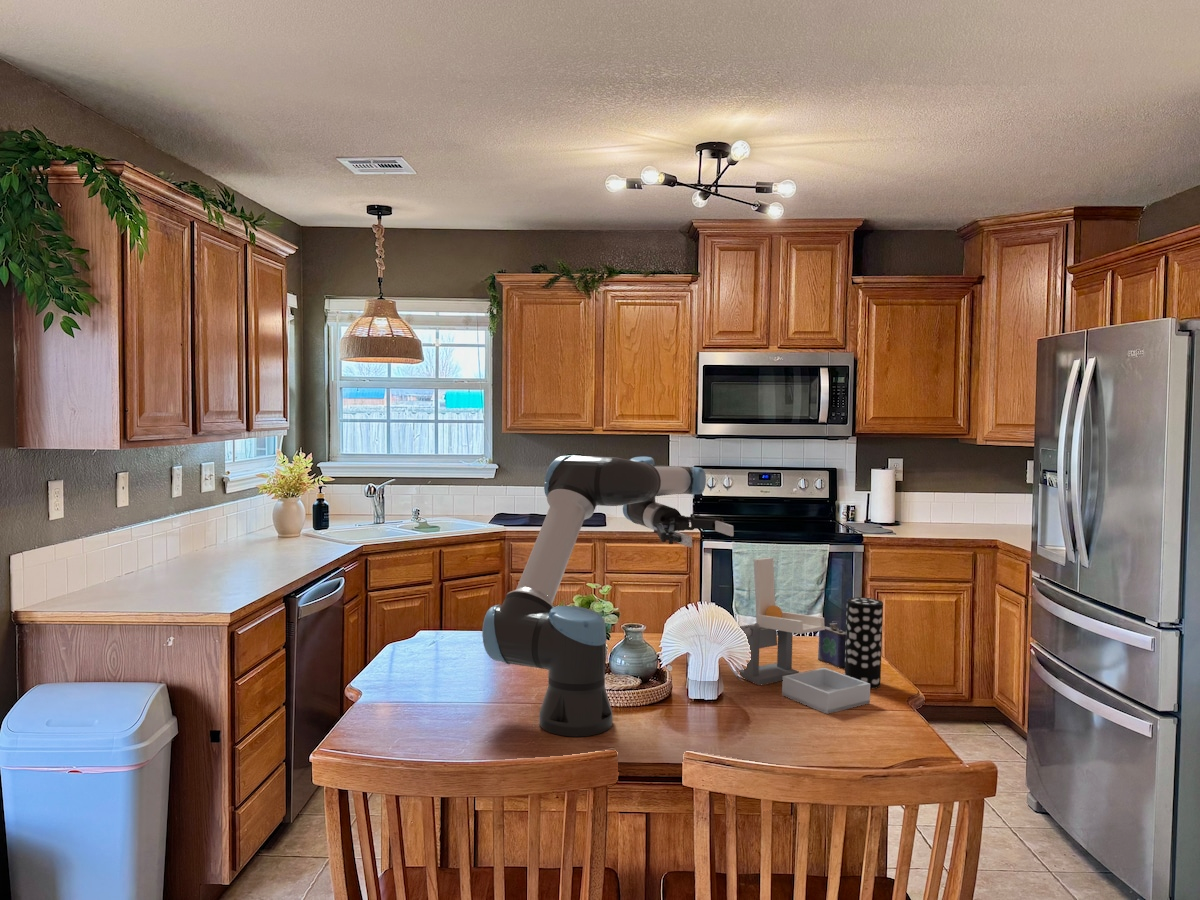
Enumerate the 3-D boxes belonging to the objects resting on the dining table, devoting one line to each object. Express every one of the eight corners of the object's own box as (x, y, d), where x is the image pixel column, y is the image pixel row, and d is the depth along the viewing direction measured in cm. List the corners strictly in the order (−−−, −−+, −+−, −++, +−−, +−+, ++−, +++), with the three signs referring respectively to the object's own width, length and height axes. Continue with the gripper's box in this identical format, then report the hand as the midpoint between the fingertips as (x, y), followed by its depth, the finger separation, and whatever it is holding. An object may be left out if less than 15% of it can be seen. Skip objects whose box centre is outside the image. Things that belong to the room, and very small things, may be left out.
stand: (801, 676, 208) (802, 624, 207) (756, 686, 200) (758, 632, 199) (777, 668, 214) (779, 617, 214) (734, 677, 207) (735, 624, 206)
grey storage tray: (869, 703, 189) (870, 683, 189) (827, 714, 182) (827, 693, 182) (823, 686, 201) (824, 667, 201) (782, 695, 194) (782, 676, 193)
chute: (826, 654, 197) (821, 560, 198) (800, 659, 192) (796, 563, 193) (763, 642, 214) (759, 556, 215) (738, 646, 210) (734, 558, 211)
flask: (815, 659, 223) (817, 619, 222) (824, 658, 224) (825, 618, 224) (841, 669, 215) (842, 627, 214) (849, 668, 216) (851, 626, 216)
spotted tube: (882, 690, 199) (885, 606, 198) (845, 687, 200) (848, 603, 200) (878, 679, 207) (880, 598, 206) (842, 676, 209) (845, 596, 208)
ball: (787, 617, 203) (781, 601, 205) (773, 620, 202) (766, 605, 204) (780, 622, 207) (774, 607, 208) (766, 626, 205) (760, 610, 207)
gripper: (698, 523, 240) (749, 540, 222) (625, 541, 227) (673, 561, 210) (698, 497, 239) (748, 513, 221) (624, 514, 226) (672, 532, 208)
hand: (712, 536), depth 215 cm, fingers open, 13 cm apart
